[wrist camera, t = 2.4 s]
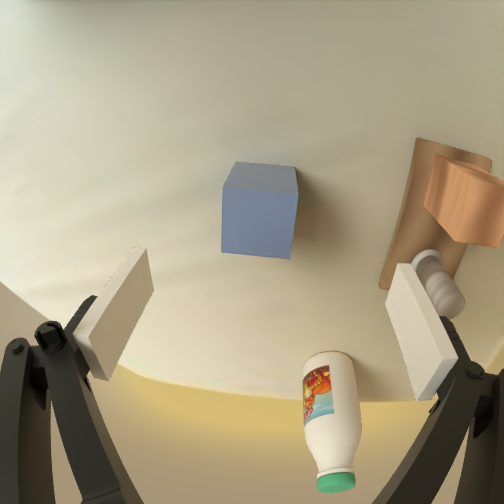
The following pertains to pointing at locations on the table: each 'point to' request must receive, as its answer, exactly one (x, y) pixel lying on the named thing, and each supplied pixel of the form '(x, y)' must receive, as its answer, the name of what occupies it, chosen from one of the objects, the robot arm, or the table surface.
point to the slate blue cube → (259, 210)
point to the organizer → (444, 219)
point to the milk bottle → (332, 418)
